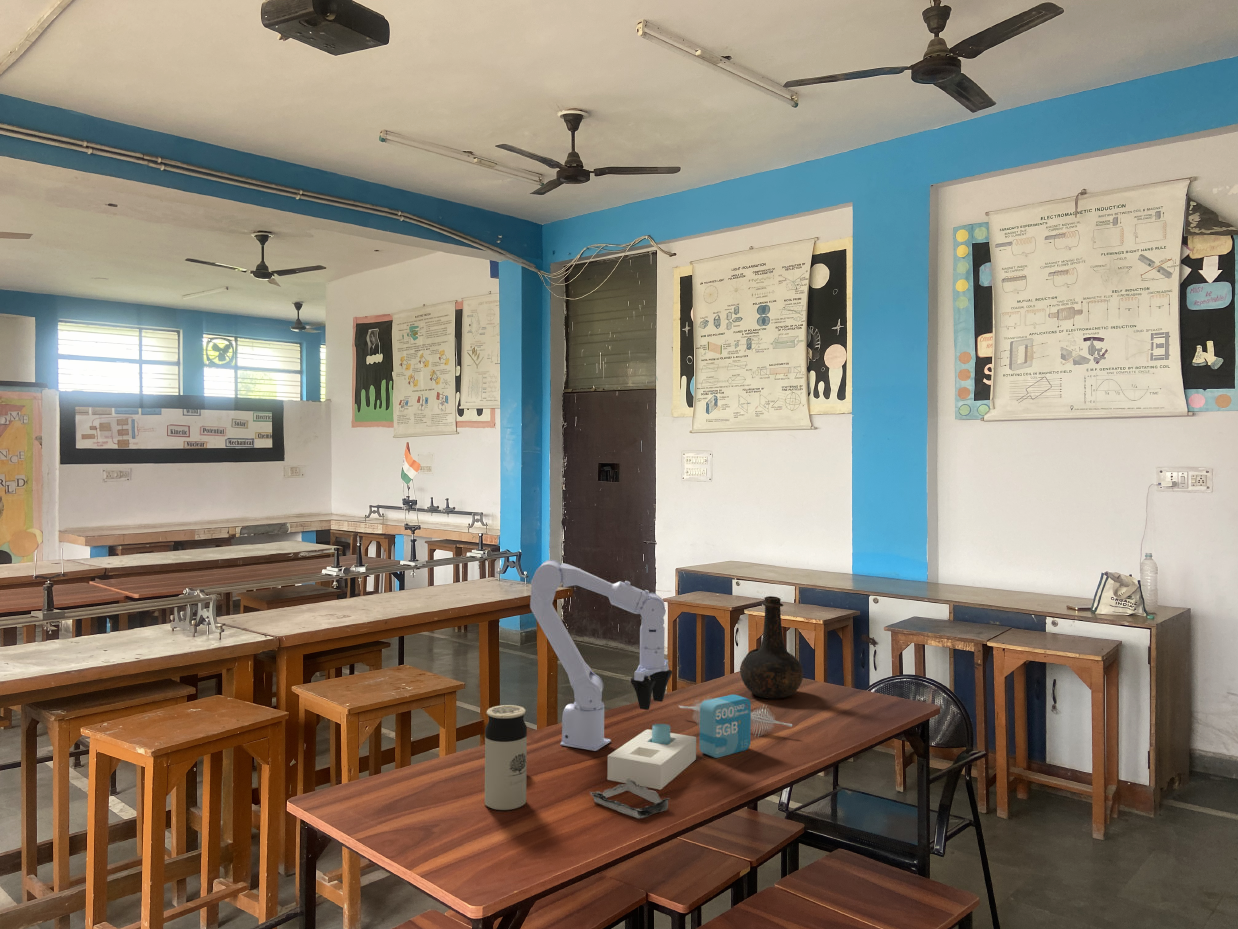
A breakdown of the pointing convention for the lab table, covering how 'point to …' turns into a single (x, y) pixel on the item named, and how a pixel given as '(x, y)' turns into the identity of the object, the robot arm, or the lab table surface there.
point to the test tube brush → (751, 717)
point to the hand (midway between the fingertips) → (651, 705)
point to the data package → (725, 725)
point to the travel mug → (505, 757)
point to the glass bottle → (771, 659)
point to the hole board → (651, 760)
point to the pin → (661, 734)
